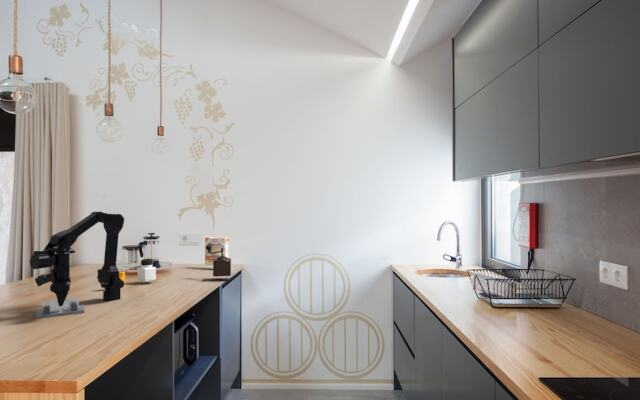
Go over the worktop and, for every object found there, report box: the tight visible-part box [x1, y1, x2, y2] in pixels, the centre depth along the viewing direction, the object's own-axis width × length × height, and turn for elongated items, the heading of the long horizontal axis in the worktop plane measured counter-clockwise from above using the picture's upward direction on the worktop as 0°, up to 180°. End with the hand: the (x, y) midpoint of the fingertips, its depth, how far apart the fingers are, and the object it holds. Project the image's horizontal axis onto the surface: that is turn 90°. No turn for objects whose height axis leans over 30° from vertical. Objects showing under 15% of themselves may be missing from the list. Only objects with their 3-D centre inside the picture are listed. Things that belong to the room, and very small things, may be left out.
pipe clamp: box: [119, 271, 126, 284], centre depth 208 cm, size 12×4×6 cm, turn 174°
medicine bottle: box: [137, 258, 157, 283], centre depth 224 cm, size 7×7×12 cm
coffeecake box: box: [204, 236, 230, 266], centre depth 280 cm, size 15×7×20 cm, turn 81°
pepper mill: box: [206, 245, 232, 278], centre depth 240 cm, size 16×11×18 cm
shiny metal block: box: [41, 296, 80, 313], centre depth 157 cm, size 12×4×4 cm, turn 127°
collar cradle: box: [34, 304, 85, 320], centre depth 157 cm, size 16×10×4 cm, turn 121°
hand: (61, 304), depth 157 cm, fingers open, 5 cm apart
